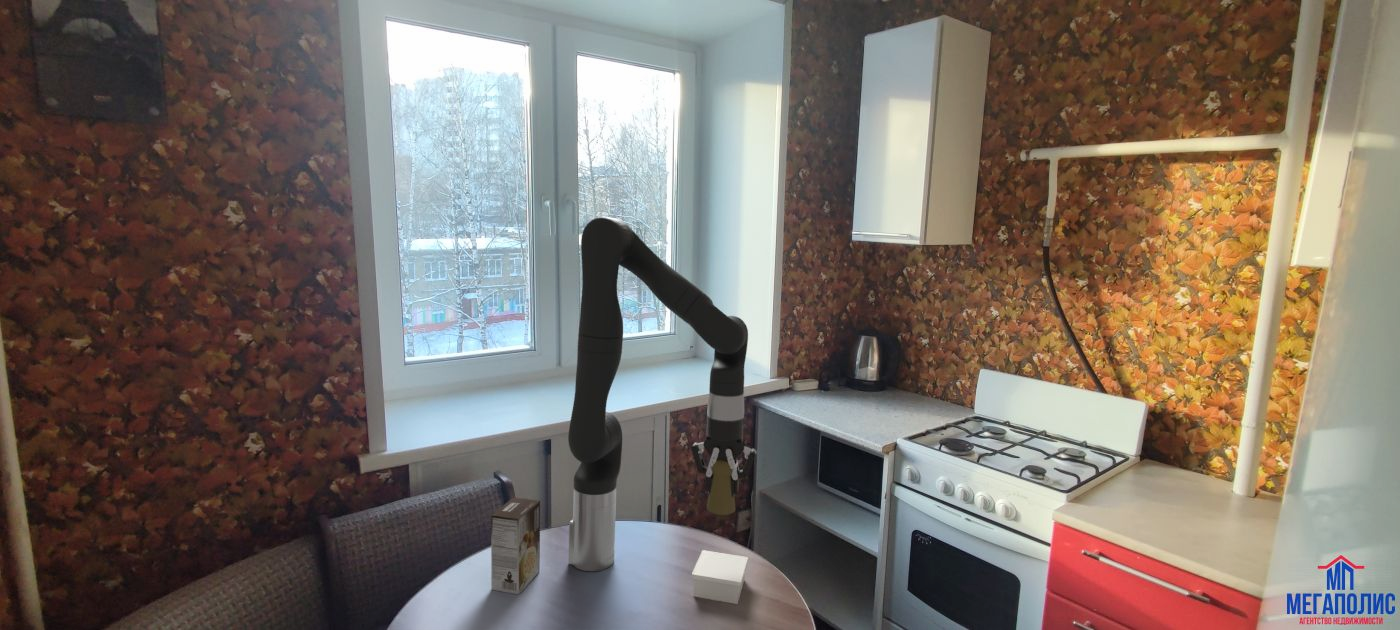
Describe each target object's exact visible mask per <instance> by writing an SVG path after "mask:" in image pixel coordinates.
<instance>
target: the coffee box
mask: <svg viewBox="0 0 1400 630" xmlns="http://www.w3.org/2000/svg"><path fill="white" fill-rule="evenodd" d="M490 516H491V517H490V518H491V523H490V525H491V527H490V534H491V537H490V539H491V540H490V541H491V542H490V545H491V548H490V549H491V550H490V551H491V553H490V554H491V557H490V558H491V563H490V564H491V567H490V568H491V570H490V571H491V577H490V579H491V584H490V585H491V590H492V591H496V592H497V591H498V592H502V593H509V594H515V595H520V594H521V593H522V591H523V590H524V589H525V588H526V587H527V586H528V585H529V584H530V582H532V581H533V579H534V578H535V577H536V576H537V575H538V573H539V572H540V568H541V567H540V566H541V565H540V564H541V562H540V560H541V553H540V552H541V500H540V499H530V498H525V497H524V498H521V497H512V498H510V499H509V500H508V501H507V502H506V503H504V504H503V505H502V506H500V508H498V509H497V510H496V511H495V512H493V513H492V514H491V515H490Z"/></svg>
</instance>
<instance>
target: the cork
mask: <svg viewBox="0 0 1400 630" xmlns="http://www.w3.org/2000/svg"><path fill="white" fill-rule="evenodd" d="M711 470H712V472H713V475H712V477H713V479H712V486H711V491H710V494H709V493H708V497H707V498H708V499H707V503H706V510H707V511H708V512H709V513H711V514H714V515H719V516H726V515H732V514H733V513H735V512H736V510H737V509H736V500H735V496H734V497H732V493H731V479H732V472H733V470H732V469H731V468H730V465H729V463H728V461H725V460H716V462H715V463H714V464H713V466H712V467H711Z"/></svg>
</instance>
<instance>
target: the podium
mask: <svg viewBox="0 0 1400 630" xmlns="http://www.w3.org/2000/svg"><path fill="white" fill-rule="evenodd" d="M748 563H749V557H748V556H743V555H737V554H730V553H723V552H716V551H712V550H705V549H702V551H701V553H700V554H699V557H698V559H697V561H696V564H695V566H694V568H693V570H692V573H691V579H693V580H694V581H693V582H694V583H693V597H696V598H699V599H700V598H701V599H706V600H712V601H717V602H718V601H719V602H723V603H728V604H735V605H738V603H739V600H740V596H741V593H742V589H743V586H744V582H745V577H746V576H745V575H746V570H747V566H748Z"/></svg>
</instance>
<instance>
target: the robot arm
mask: <svg viewBox="0 0 1400 630" xmlns="http://www.w3.org/2000/svg"><path fill="white" fill-rule="evenodd" d="M580 243H581V244H580V245H581V246H580V248H581V250H580V251H581V252H580V253H581V269H582V270H581V273H582V274H581V275H582V278H581V279H582V285H581V286H582V287H581V289H582V290H581V298H580V311H579V313H580V315H579V326H578V335H577V337H578V338H577V357H576V358H577V360H576V361H577V362H576V373H575V388H574V398H573V404H572V409H571V410H572V411H571V415H570V416H571V417H570V422H569V427H568V435H567V436H568V437H567V439H568V446H569V450H570V452H571V454H572V456H573V457H574V458H575V459H576V460H577V461H579V462H580V464H579V467H578V468H577V470H576V471H575V473H574V476H573V500H572V501H573V503H572V504H573V505H572V507H573V508H572V519H571V520H570V521H569V524H568V557H567V558H568V563H567V564H568V565H571V566H574V567H575V569H578V570H580V571H583V572H584V571H585V572H599V571H602V570H605V569H607V568H610V566H612V565H613V563H614V561H615V545H616V544H615V543H616V511H617V510H616V508H617V481H618V477H619V474H620V471H621V466H622V465H621V464H622V452H623V451H622V450H623V431H622V430H623V429H622V426H621V423H620V422H619V420H618V418H617V417H616V416H615V415H614V414H613V413H611V412H608V411H607V401H608V397H609V393H610V391H611V388H612V384H613V383H614V380H615V378H616V374H617V372H618V369H619V366H620V363H621V360H622V359H621V358H622V353H623V342H624V341H623V340H624V322H623V317H622V311H621V306H620V300H619V297H618V276H619V270H620V269H619V268H620V267H621V268H624V269H626V270H627V271H629V272H630V273H632V274H633V275H634V276H635V277H637V278H638V279H639V280H640V281H642V282H643V283H644V284H645V286H646V287H648V289H649V290H650V291H651V293H652V294H653V295H654V297H656V298H657V299H658V300H659V301H660V303H662V305H663V306H664V307H666V308H667V309H668V310H669V311H670V312H672V313H673V314H675V315H676V316H677V317H678V318H680V319H681V320H682V321H683V322H684V323H686V324H687V325H688V326H690V327H691V328H692V330H693V331H694V332H695V333H697V335H698V336H699V337H700V338H701V339H702V340H703V341H704V342H705V343H706V344H707V345H708V346H710V347H711V348H712V349H713V350H714V353H713V355H714V356H713V364H712V366H711V368H710V372H709V393H708V399H707V409H706V410H707V413H706V414H707V415H706V431H705V432H706V434H705V435H706V436H705V439H704V441H702V442H697V441H696V442H693V444H692V445H691V446H690V447H691V448H690V449H691V453H692V456H693V460H694V462H695V466H696V469H697V473H699V474H702V475H705V478H706V479H705V490H706V491H707V492H708V495H709V494H710V491H711V486H712V479H713V477H712V475H713V472H712V470H711V467H712V466H713V464H714V463H715V462H716V460H725V461H728V463H729V465H730V468H731V469H732V470H733V472H732V479H731V493H732V497H734V498H735V495H737V494H738V492H739V484H740V483H739V481H740V479H746V478H747V477H748V474H749V472H750V469H751V467H752V464H753V462H754V460H755V458H756V455H757V448H755V447H754V448H753V447H752V448H750V447H748V446H746V445H745V442H744V419H745V418H744V417H745V412H746V411H745V397H744V395H745V394H744V393H745V390H744V389H745V363H746V358H747V351H748V350H747V349H748V345H749V344H748V341H749V330H748V327H747V325H746V322H745V321H744V320H743V319H742V318H740V317H738V316H735V315H726V314H725V313H724V312H723V311H722V310H720V309H719V308H718V307H716V305H715V304H714V302H713V300H712V299H711V298H710V297H709V296H708V295H707V294H706V293H705V292H703V291H702V290H701V289H700V288H699V287H697V286H696V285H695V284H693V283H692V282H691V281H689V280H688V279H687V278H686V277H685V276H683V275H682V274H680V273H679V272H678V271H676V269H674V268H673V267H671V266H670V265H669V264H667V263H666V262H665V261H664V260H663V259H661V257H659V256H658V255H657V254H656V253H655V252H654V251H653V250H652V249H651V248H650V247H649V246H647V244H646V243H645V242H644V241H643V240H642V239H641V237H639V236H638V235H637V233H636V232H635V231H634V230H633V229H632V228H631V227H630V226H629V225H628V223H627V222H625V221H624V220H622V219H619V218H614V217H609V216H608V217H607V216H600V217H596V218H593V219H591V220H589V222H588V223H587V224H586V225H585V227H584V229H583V231H582V234H581V239H580ZM704 449H705V451H706V452H707V453H708V455H709V456H710V459H709V462H708V466H707V465H706V463H705V460H704V457H703V456H704V455H703V452H704ZM742 453H744V458H745V459H746V461H745V464H744V465H743V468H742V469H740V468H739V462H738V461H739V460H738V458H739V456H741V454H742Z"/></svg>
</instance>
